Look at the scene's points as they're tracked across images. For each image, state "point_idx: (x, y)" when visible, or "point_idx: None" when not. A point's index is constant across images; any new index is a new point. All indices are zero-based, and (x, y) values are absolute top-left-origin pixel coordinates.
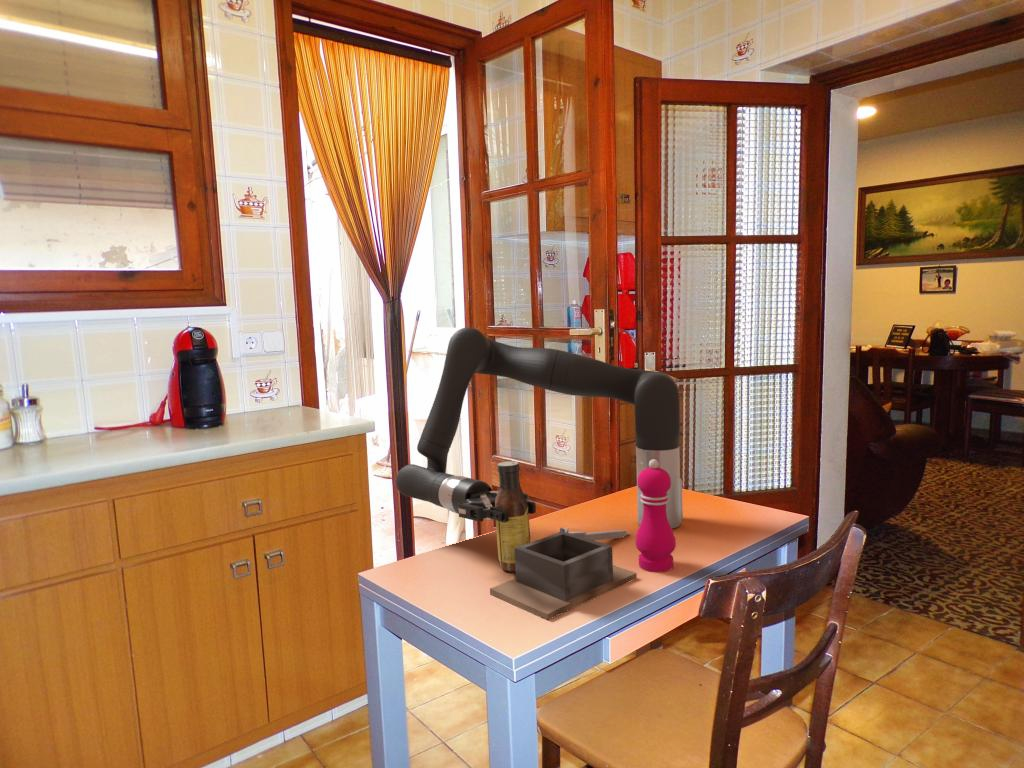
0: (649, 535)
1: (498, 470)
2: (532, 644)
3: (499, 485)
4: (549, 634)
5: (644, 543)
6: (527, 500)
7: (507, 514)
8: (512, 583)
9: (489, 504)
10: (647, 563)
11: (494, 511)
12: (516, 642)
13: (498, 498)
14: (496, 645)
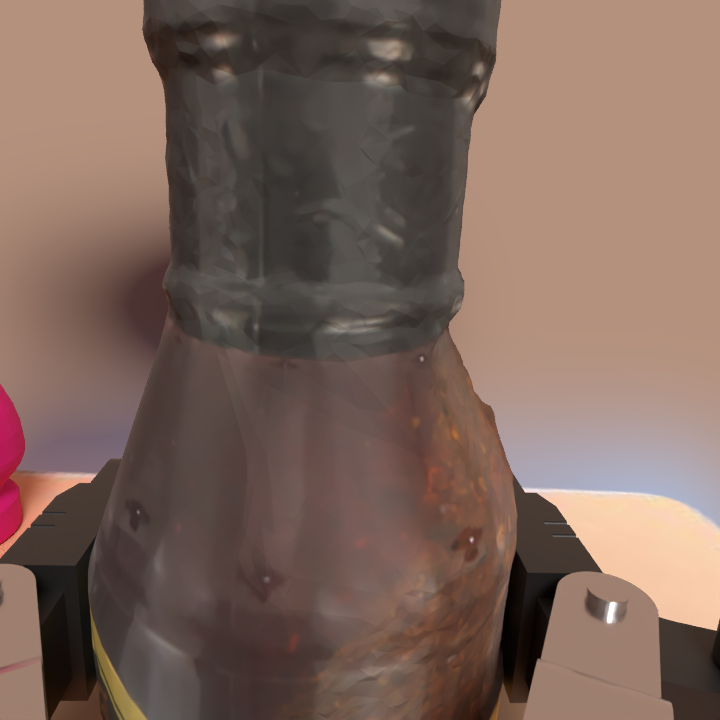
0: (7, 398)
1: (495, 38)
2: (616, 500)
3: (448, 307)
4: (556, 502)
5: (15, 433)
6: (84, 502)
7: None
8: (523, 715)
9: (573, 648)
10: (15, 503)
11: (573, 548)
12: (654, 519)
13: (500, 444)
14: (714, 533)
